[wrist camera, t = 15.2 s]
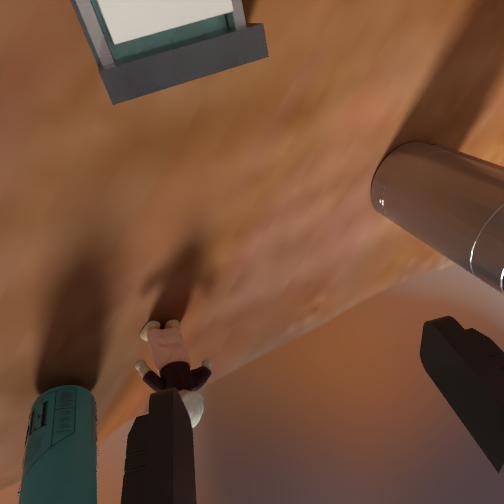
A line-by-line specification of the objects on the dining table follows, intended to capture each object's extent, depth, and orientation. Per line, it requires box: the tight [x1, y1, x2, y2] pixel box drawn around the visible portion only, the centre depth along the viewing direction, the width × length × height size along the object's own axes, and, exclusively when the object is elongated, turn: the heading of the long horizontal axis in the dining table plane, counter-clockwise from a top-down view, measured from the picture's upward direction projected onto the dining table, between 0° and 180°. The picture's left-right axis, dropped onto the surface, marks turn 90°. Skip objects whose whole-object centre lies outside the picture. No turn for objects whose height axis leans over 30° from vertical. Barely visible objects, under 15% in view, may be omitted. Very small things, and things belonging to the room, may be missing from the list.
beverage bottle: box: [18, 385, 98, 504], centre depth 34 cm, size 6×7×20 cm
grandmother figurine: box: [135, 320, 212, 428], centre depth 37 cm, size 8×4×13 cm, turn 84°
